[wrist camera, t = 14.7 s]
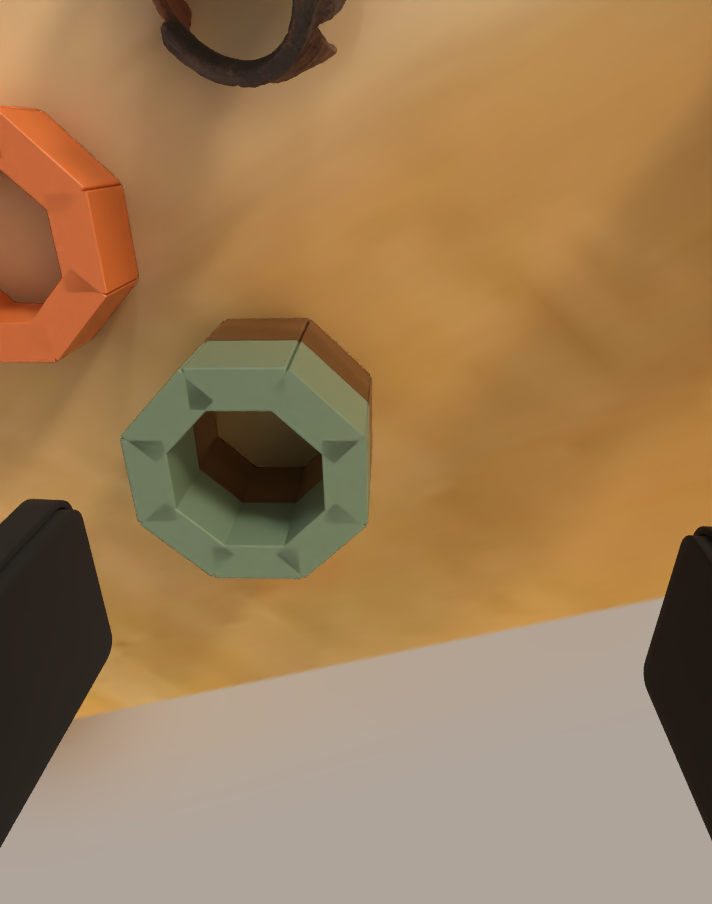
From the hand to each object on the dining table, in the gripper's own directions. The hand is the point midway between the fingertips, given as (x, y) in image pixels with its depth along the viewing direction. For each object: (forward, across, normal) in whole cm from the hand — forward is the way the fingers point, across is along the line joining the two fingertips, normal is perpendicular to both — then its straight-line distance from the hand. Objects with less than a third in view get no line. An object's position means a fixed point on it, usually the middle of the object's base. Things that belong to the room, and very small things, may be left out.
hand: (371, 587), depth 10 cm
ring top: (+24, +19, -2) cm, 30 cm away
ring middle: (+20, +6, +8) cm, 22 cm away
